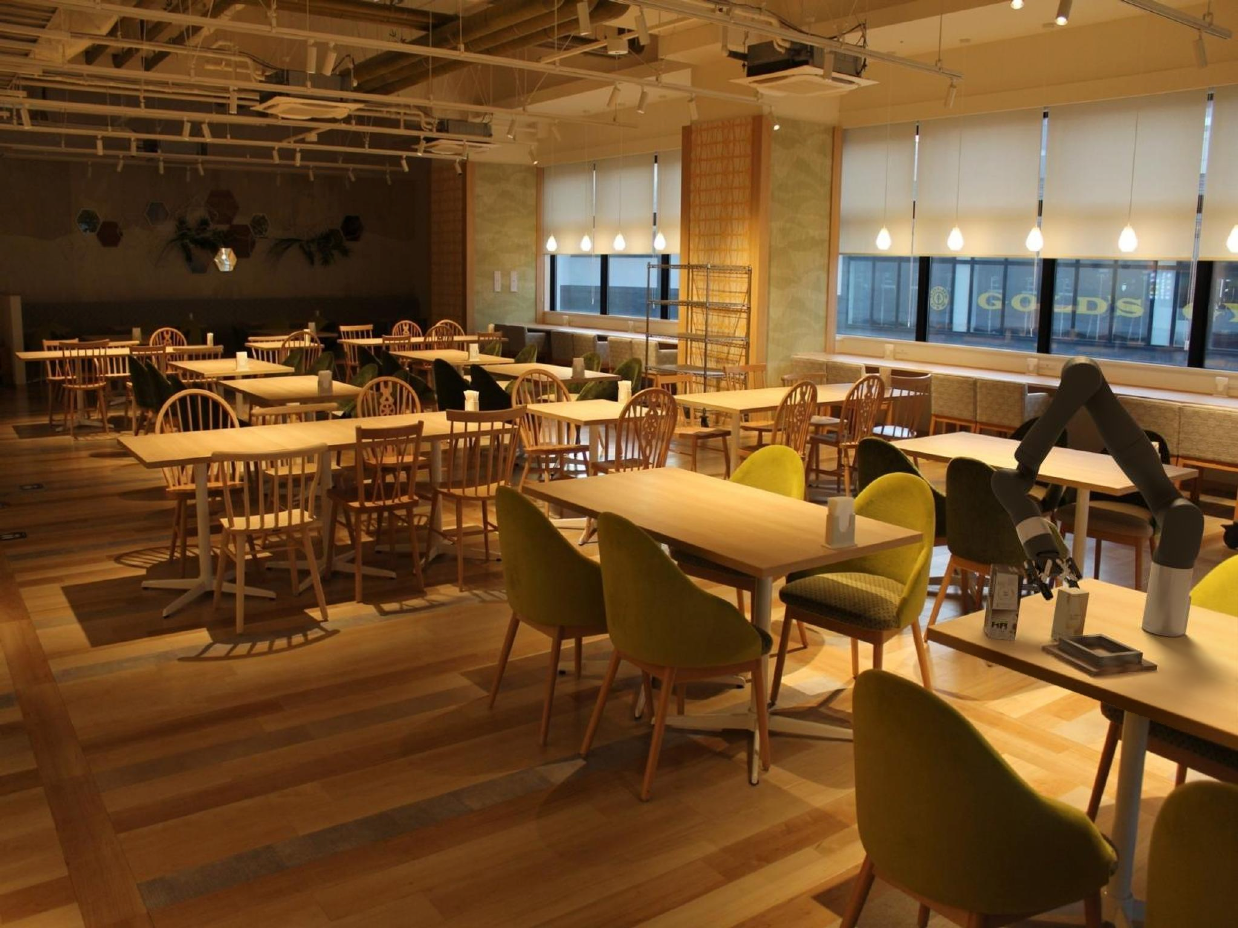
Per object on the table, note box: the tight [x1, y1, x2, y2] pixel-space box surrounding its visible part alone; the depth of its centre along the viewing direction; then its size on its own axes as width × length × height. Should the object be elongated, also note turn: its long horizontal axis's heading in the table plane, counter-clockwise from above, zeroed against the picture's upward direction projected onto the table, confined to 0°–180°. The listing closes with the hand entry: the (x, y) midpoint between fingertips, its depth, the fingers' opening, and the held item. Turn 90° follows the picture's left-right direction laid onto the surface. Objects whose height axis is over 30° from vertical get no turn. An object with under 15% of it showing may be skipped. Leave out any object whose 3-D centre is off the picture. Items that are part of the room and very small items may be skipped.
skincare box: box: [1050, 587, 1090, 641], centre depth 255 cm, size 6×4×12 cm
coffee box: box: [983, 563, 1025, 642], centre depth 256 cm, size 9×6×16 cm
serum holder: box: [1041, 633, 1159, 678], centre depth 243 cm, size 18×16×4 cm
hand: (1064, 598), depth 257 cm, fingers open, 8 cm apart
